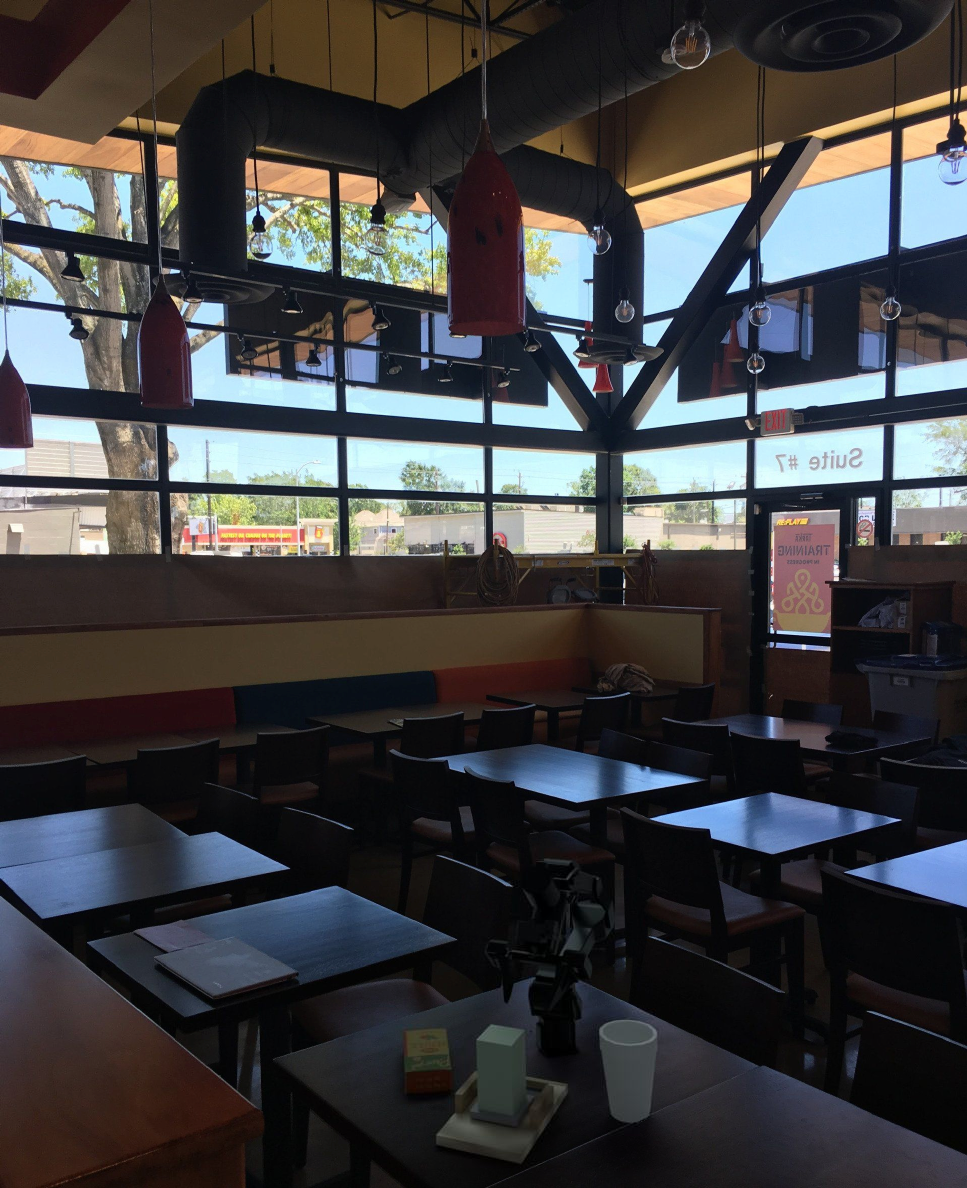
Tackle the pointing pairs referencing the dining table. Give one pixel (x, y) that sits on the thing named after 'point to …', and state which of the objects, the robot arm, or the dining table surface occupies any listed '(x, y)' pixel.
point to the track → (496, 1136)
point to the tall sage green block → (501, 1076)
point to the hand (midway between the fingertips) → (526, 1006)
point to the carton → (427, 1061)
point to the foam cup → (629, 1067)
